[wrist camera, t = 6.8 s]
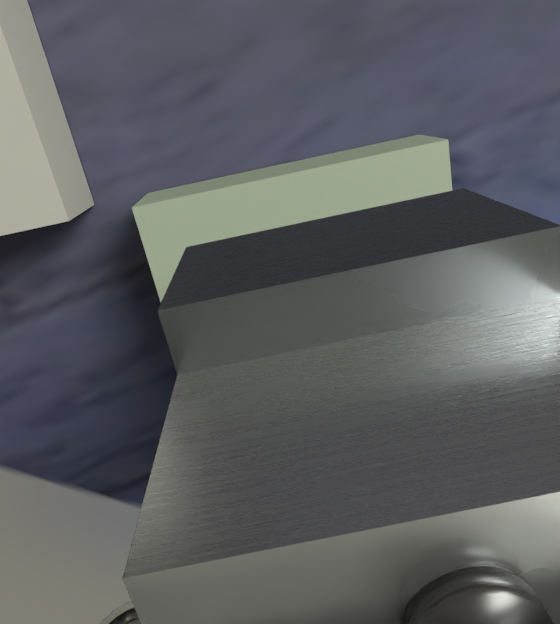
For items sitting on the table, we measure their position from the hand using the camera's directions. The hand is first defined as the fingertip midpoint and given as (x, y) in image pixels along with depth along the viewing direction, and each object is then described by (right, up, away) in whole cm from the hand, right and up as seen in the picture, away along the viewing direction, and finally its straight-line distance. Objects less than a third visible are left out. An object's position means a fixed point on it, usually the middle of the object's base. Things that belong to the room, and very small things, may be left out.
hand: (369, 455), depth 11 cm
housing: (0, 0, +1) cm, 1 cm away
